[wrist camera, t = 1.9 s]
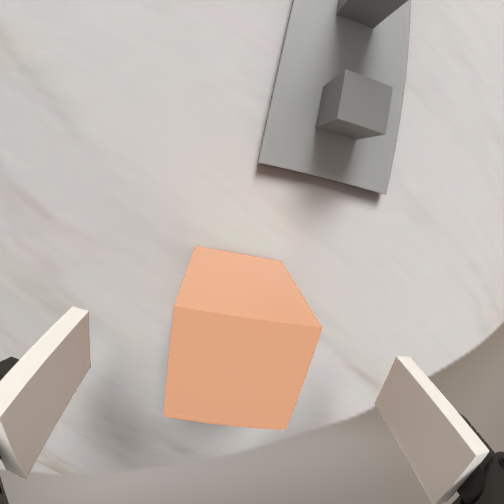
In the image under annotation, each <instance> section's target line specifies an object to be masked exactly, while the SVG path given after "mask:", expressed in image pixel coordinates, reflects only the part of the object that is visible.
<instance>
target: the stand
mask: <svg viewBox="0 0 504 504" xmlns="http://www.w3.org/2000/svg"><path fill="white" fill-rule="evenodd" d="M410 15H411V0H293V4H292V8H291V12H290V17H289V21H288V26H287V30H286V34H285V39H284V43H283V48H282V52H281V57H280V61H279V66H278V70H277V75H276V80H275V84H274V89H273V93H272V98H271V103H270V107H269V112H268V116H267V121H266V126H265V130H264V135H263V140H262V145H261V149H260V154H259V159H258V163H261V164H266V165H271V166H275V167H280V168H284V169H289V170H293V171H297V172H302V173H306V174H310V175H314V176H318V177H322V178H326V179H330V180H334V181H337V182H341V183H345V184H349V185H352V186H356V187H360V188H363V189H367V190H370V191H374V192H377V193H381V194H385V195H386V192H387V188H388V183H389V178H390V174H391V169H392V164H393V158H394V153H395V147H396V142H397V136H398V130H399V124H400V117H401V110H402V103H403V96H404V88H405V79H406V70H407V60H408V48H409V34H410Z"/></svg>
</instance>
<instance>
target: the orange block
mask: <svg viewBox="0 0 504 504" xmlns="http://www.w3.org/2000/svg"><path fill="white" fill-rule="evenodd" d="M321 330H322V327H321V325H320V323H319V322H318V320H317V318H316V317H315V315H314V313H313V312H312V310H311V308H310V307H309V305H308V303H307V302H306V300H305V299H304V297H303V295H302V294H301V292H300V290H299V289H298V287H297V285H296V284H295V282H294V281H293V279H292V277H291V276H290V274H289V272H288V271H287V269H286V268H285V266H284V264H283V263H282V261H278V260H272V259H266V258H261V257H255V256H249V255H244V254H238V253H233V252H227V251H221V250H216V249H210V248H205V247H199V246H195V248H194V251H193V254H192V256H191V259H190V262H189V265H188V268H187V270H186V273H185V276H184V279H183V282H182V285H181V287H180V290H179V293H178V296H177V299H176V302H175V305H174V311H173V320H172V328H171V337H170V347H169V357H168V367H167V378H166V390H165V403H164V416H165V417H171V418H176V419H183V420H189V421H196V422H203V423H210V424H218V425H227V426H237V427H248V428H262V429H280V430H286V428H287V425H288V423H289V420H290V418H291V415H292V412H293V410H294V407H295V405H296V402H297V399H298V397H299V394H300V391H301V388H302V386H303V383H304V380H305V377H306V374H307V372H308V369H309V366H310V363H311V360H312V357H313V354H314V351H315V348H316V345H317V342H318V339H319V336H320V333H321Z"/></svg>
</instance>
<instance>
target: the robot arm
mask: <svg viewBox="0 0 504 504" xmlns="http://www.w3.org/2000/svg"><path fill="white" fill-rule="evenodd" d="M90 367H91V363H90V341H89V311H88V310H84V309H80V308H76V307H72V308H71V309H69V310H68V311H67V312H66V313H65V314H64V315H63V316H62V317H61V318H60V319H59V320H58V321H57V322H56V323H55V324H54V325H53V326H52V327H51V328H50V329H49V330H48V331H47V332H46V333H45V334H44V335H43V336H42V337H41V338H40V339H39V340H38V341H37V342H36V343H35V344H34V345H33V346H32V347H31V348H30V349H29V351H28V352H27V353H26V354H25V355H24V356H23V357H22V358H21V359H20V360H18V359H16V358H14V357H10V358H7V359H5V360H3V361H1V362H0V459H1V460H2V462H3V464H4V466H5V468H6V469H7V470H9V471H11V472H13V473H15V474H17V475H19V476H21V477H23V478H25V479H27V477H28V475H29V473H30V471H31V469H32V467H33V465H34V463H35V462H36V460H37V458H38V456H39V454H40V452H41V450H42V449H43V447H44V445H45V443H46V441H47V439H48V438H49V436H50V434H51V432H52V431H53V429H54V427H55V425H56V424H57V422H58V420H59V418H60V417H61V415H62V413H63V411H64V410H65V408H66V406H67V405H68V403H69V401H70V400H71V398H72V396H73V395H74V393H75V391H76V390H77V388H78V386H79V385H80V383H81V381H82V380H83V378H84V377H85V375H86V373H87V372H88V370H89V369H90ZM375 405H376V407H377V409H378V410H379V412H380V414H381V415H382V417H383V419H384V421H385V422H386V424H387V425H388V427H389V429H390V430H391V433H392V434H393V436H394V438H395V439H396V441H397V443H398V445H399V446H400V448H401V450H402V452H403V453H404V455H405V457H406V459H407V460H408V462H409V464H410V466H411V467H412V469H413V471H414V473H415V475H416V476H417V478H418V480H419V481H420V483H421V485H422V487H423V489H424V491H425V492H426V494H427V496H428V498H429V499H430V501H431V503H432V504H440V503H442V502H446V501H448V500H449V499H450V498H451V497H452V496H453V494H454V493H455V492H456V491H457V492H458V493H459V495H460V496H459V497H458V498H457V499H456V500H455V501H454V502H453V503H452V504H504V452H497V453H496V454H495V453H494V451H493V450H492V449H491V448H490V447H489V445H488V444H487V443H486V442H485V441H484V439H483V438H482V437H481V436H480V435H479V433H476V430H475V429H474V427H473V426H471V424H470V422H469V421H468V420H467V419H466V418H465V417H464V416H463V415H461V414H460V413H459V412H457V411H456V410H455V409H454V407H453V406H452V405H451V404H450V403H449V402H448V401H447V399H446V398H445V397H444V396H443V395H442V393H441V392H440V391H439V390H438V389H437V388H436V386H435V385H434V384H433V383H432V382H431V381H430V380H429V378H428V377H427V376H426V375H425V374H424V373H423V372H422V371H421V369H420V368H419V367H418V366H417V365H416V364H415V363H414V362H413V360H412V359H411V358H410V357H399V356H396V358H395V361H394V363H393V365H392V368H391V370H390V372H389V374H388V376H387V379H386V381H385V383H384V385H383V387H382V389H381V391H380V393H379V396H378V398H377V400H376V402H375ZM0 504H9V503H8V500H7V497H6V494H5V491H4V488H3V484H2V481H1V478H0Z"/></svg>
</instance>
